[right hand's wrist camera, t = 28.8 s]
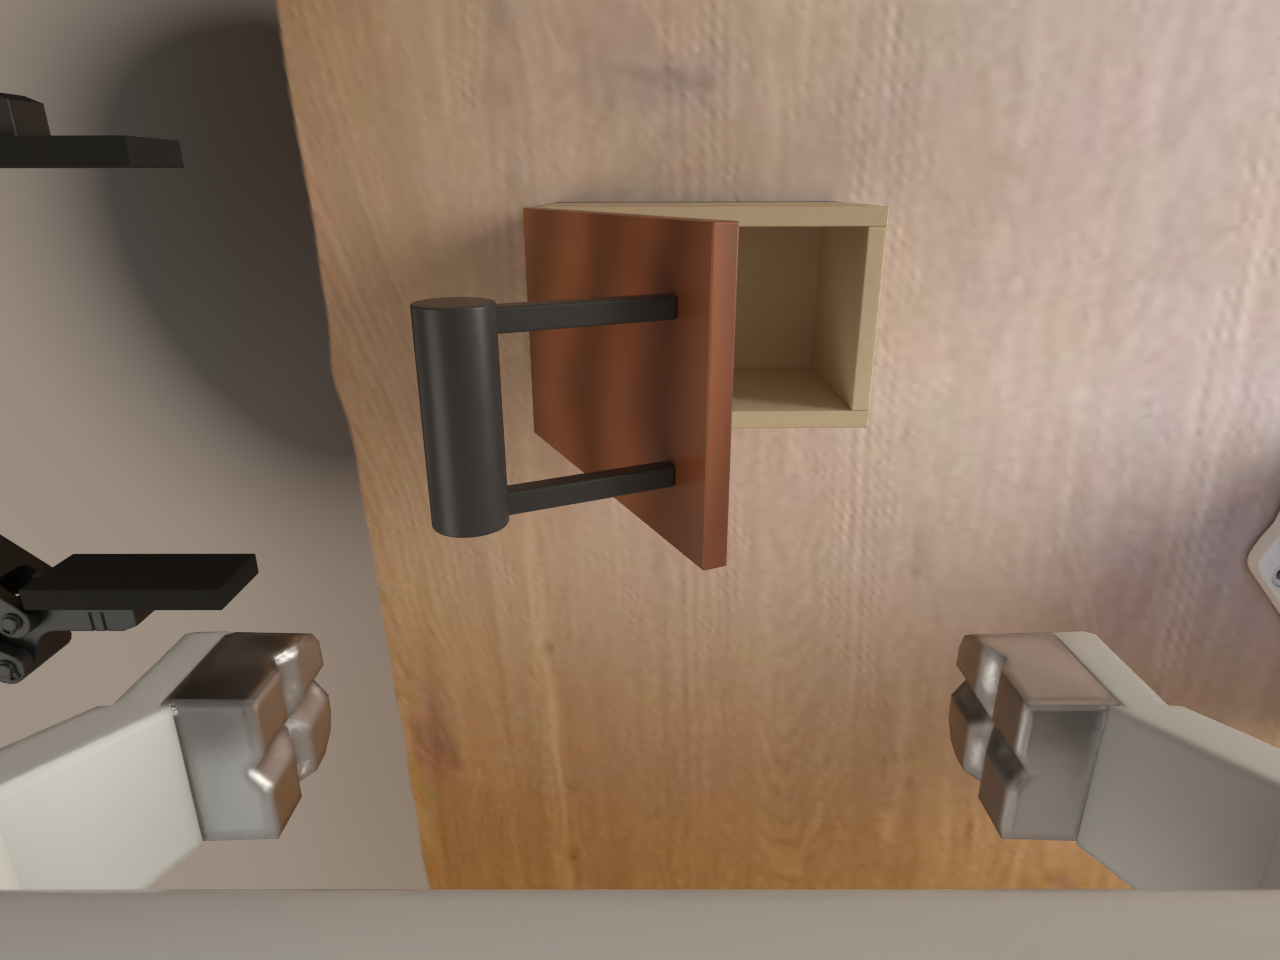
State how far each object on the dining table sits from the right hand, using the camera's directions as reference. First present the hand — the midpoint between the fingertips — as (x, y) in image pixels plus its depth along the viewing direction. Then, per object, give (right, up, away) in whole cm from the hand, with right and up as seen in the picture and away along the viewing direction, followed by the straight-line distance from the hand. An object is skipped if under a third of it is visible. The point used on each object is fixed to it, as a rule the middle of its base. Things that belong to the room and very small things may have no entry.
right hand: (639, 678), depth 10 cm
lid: (-1, +7, +19) cm, 21 cm away
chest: (+3, +13, +36) cm, 39 cm away
